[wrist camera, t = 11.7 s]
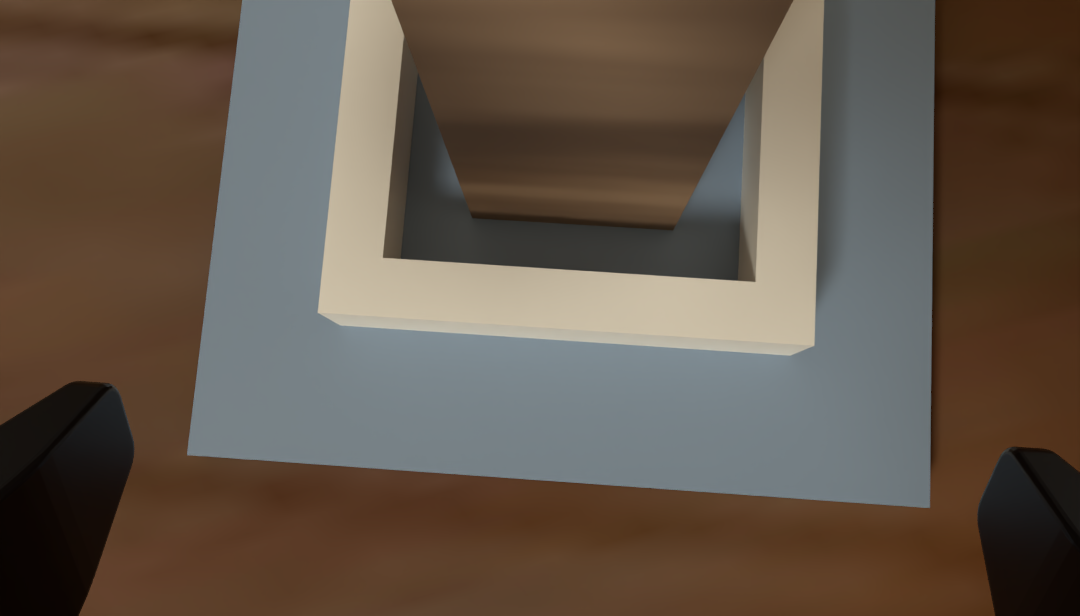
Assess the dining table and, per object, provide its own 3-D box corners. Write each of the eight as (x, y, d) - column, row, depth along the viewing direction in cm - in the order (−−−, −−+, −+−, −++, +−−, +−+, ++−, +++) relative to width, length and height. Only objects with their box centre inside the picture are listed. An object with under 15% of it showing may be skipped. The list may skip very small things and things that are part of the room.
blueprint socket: (912, 505, 21) (969, 514, 18) (204, 454, 22) (148, 455, 19) (920, -154, 24) (973, -240, 21) (280, -187, 24) (241, -276, 21)
